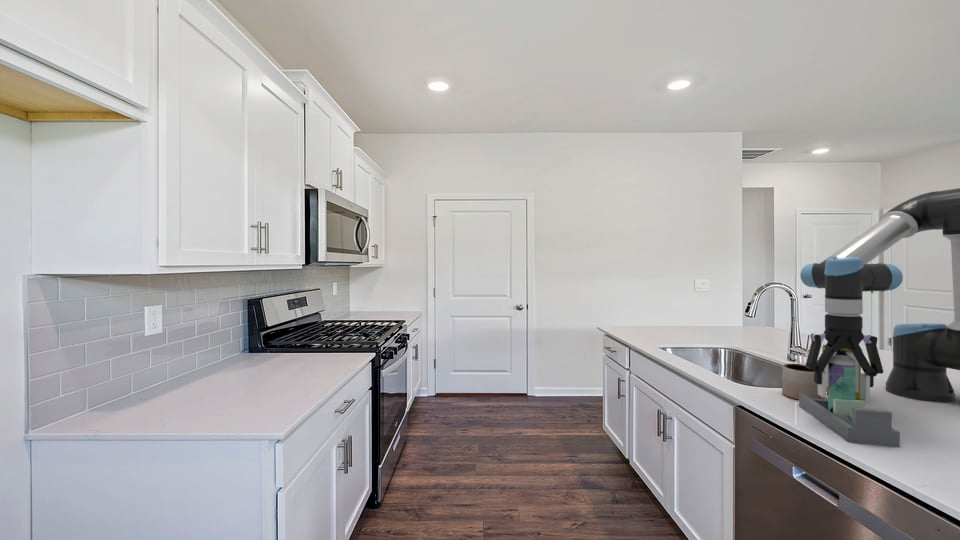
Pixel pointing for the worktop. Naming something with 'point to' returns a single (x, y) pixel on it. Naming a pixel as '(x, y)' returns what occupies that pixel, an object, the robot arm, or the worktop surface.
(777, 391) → the worktop surface
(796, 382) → the planter
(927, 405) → the worktop surface
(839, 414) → the pusher
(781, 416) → the worktop surface
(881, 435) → the lane
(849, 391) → the spray can
